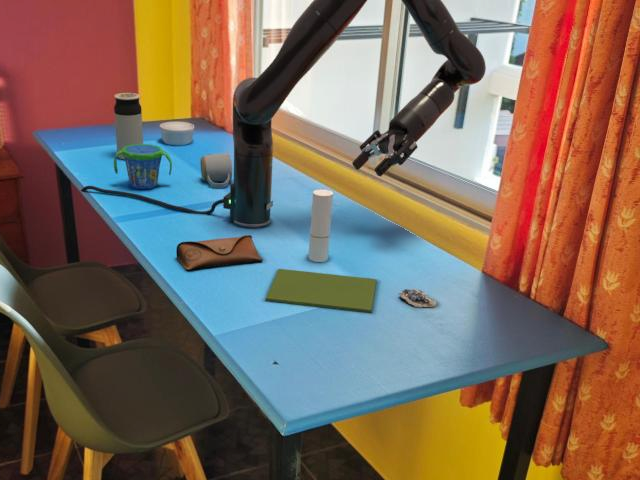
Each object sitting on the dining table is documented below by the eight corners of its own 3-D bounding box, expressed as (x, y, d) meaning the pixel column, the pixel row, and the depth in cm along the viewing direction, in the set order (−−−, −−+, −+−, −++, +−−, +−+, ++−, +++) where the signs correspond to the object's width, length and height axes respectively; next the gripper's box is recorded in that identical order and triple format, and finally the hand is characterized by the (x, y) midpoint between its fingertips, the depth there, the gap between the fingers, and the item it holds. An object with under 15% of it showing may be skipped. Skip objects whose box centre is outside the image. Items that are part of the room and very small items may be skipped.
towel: (265, 300, 154) (265, 298, 153) (278, 271, 166) (278, 268, 166) (371, 312, 150) (371, 310, 150) (376, 281, 163) (376, 279, 163)
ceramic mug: (199, 177, 220) (199, 150, 216) (227, 176, 222) (228, 149, 218) (206, 189, 212) (205, 161, 207) (235, 188, 213) (235, 160, 209)
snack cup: (175, 181, 217) (174, 144, 211) (169, 193, 208) (167, 155, 202) (120, 178, 217) (117, 142, 212) (111, 190, 208) (109, 152, 203)
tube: (326, 262, 171) (331, 196, 163) (307, 260, 171) (311, 194, 163) (328, 255, 174) (334, 190, 166) (309, 253, 175) (314, 188, 167)
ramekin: (193, 147, 247) (192, 130, 244) (158, 146, 247) (157, 129, 244) (195, 138, 256) (195, 121, 254) (162, 137, 256) (161, 120, 254)
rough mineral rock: (409, 289, 160) (410, 280, 159) (444, 300, 156) (445, 292, 155) (392, 299, 156) (393, 291, 155) (427, 311, 152) (429, 303, 150)
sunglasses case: (187, 270, 164) (182, 239, 163) (179, 274, 170) (174, 244, 170) (265, 260, 170) (260, 229, 169) (255, 264, 176) (250, 235, 176)
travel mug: (149, 156, 237) (146, 95, 227) (132, 162, 231) (128, 99, 221) (129, 151, 240) (125, 91, 231) (112, 157, 235) (107, 95, 225)
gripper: (388, 103, 178) (339, 152, 177) (428, 110, 167) (377, 162, 166) (402, 128, 183) (355, 176, 182) (442, 137, 171) (392, 188, 170)
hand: (365, 170), depth 174 cm, fingers open, 8 cm apart
